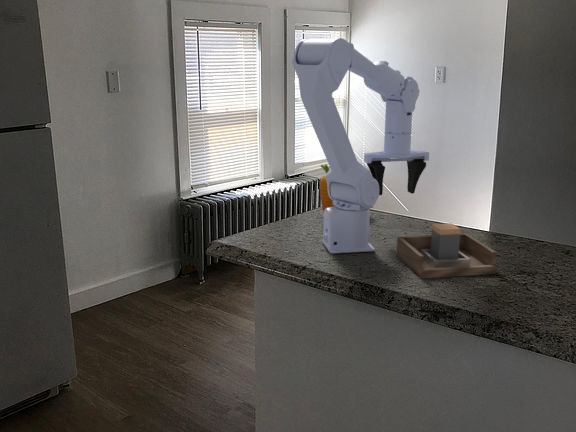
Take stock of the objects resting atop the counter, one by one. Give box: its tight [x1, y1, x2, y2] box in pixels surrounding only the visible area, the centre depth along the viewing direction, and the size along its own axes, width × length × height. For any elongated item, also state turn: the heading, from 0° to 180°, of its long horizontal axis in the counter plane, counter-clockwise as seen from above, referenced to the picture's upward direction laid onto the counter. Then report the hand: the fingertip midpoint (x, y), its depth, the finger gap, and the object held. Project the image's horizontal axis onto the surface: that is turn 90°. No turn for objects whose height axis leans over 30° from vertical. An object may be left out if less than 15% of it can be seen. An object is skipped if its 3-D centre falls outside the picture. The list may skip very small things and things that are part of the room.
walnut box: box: [396, 232, 498, 279], centre depth 120 cm, size 15×13×4 cm
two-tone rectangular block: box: [430, 222, 461, 260], centre depth 120 cm, size 4×4×7 cm
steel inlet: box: [420, 249, 471, 268], centre depth 120 cm, size 7×7×2 cm
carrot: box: [319, 163, 335, 213], centre depth 148 cm, size 5×5×15 cm
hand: (395, 193), depth 138 cm, fingers open, 7 cm apart
